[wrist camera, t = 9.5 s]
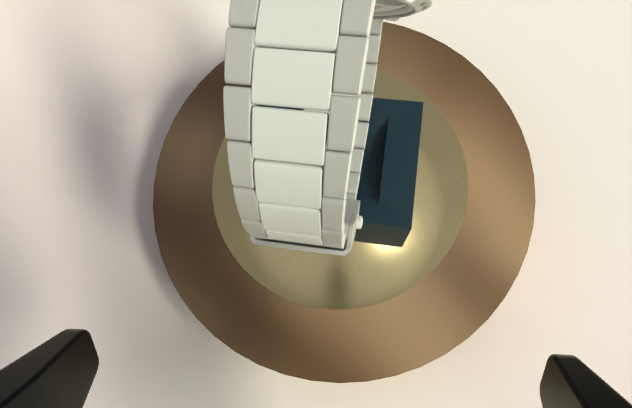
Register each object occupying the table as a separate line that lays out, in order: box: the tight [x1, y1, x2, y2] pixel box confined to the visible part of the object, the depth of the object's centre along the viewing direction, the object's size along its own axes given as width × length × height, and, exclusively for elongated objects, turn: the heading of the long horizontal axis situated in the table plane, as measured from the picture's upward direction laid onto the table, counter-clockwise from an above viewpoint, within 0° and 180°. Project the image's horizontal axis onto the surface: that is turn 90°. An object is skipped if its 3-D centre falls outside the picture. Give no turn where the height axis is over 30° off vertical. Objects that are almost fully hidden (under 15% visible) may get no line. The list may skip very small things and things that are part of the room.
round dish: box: [153, 22, 535, 383], centre depth 19 cm, size 15×15×2 cm
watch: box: [223, 0, 434, 256], centre depth 13 cm, size 6×8×11 cm
